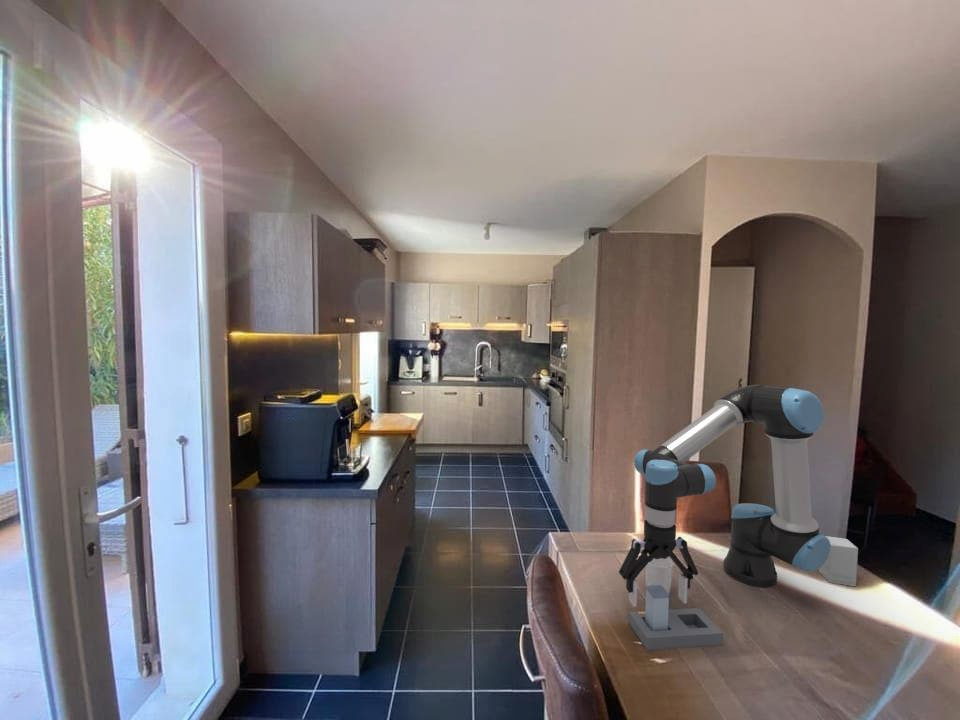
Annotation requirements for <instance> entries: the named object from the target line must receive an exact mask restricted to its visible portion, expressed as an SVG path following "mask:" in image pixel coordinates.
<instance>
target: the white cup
mask: <svg viewBox="0 0 960 720" xmlns="http://www.w3.org/2000/svg"><path fill="white" fill-rule="evenodd" d="M647 555H648V556H649V554H647ZM673 567H674V562H673V560H672V559H671V558H670V557H669V558H668V557H667V559H663V558H660V559H655V558H654V559H653V560H652V561H651V562H649V563H648V564H647V565H646V566H645V567H644V569H645V571H644V576H645V577H644V578H645V587H646V586H649V585H661V586H662V587H663V588H664V589H665V590H666V591H667V592H668V593H669V594H671V586H672V579H673Z"/></svg>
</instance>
